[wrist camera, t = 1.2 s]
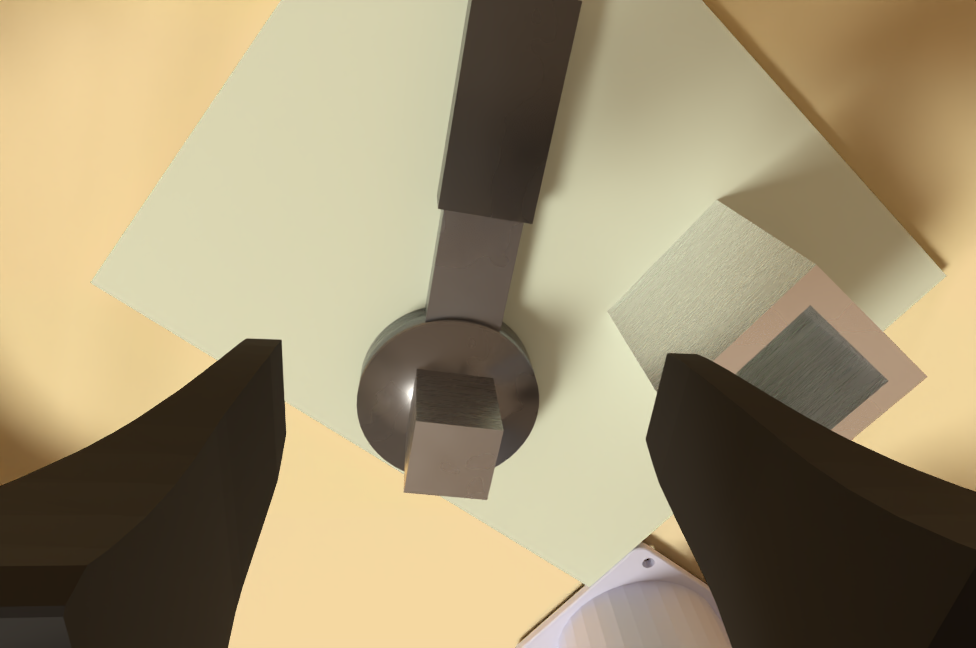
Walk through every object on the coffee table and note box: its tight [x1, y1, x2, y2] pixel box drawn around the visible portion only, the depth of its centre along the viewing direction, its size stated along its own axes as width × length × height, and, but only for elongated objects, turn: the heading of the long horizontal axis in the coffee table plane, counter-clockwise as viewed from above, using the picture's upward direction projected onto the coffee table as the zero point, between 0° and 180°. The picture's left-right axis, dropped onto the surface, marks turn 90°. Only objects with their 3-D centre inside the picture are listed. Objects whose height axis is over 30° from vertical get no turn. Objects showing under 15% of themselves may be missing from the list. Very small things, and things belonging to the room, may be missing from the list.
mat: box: [90, 0, 946, 587], centre depth 22 cm, size 22×18×1 cm
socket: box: [607, 200, 927, 440], centre depth 20 cm, size 5×5×6 cm
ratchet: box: [357, 0, 582, 500], centre depth 19 cm, size 16×6×4 cm, turn 169°
